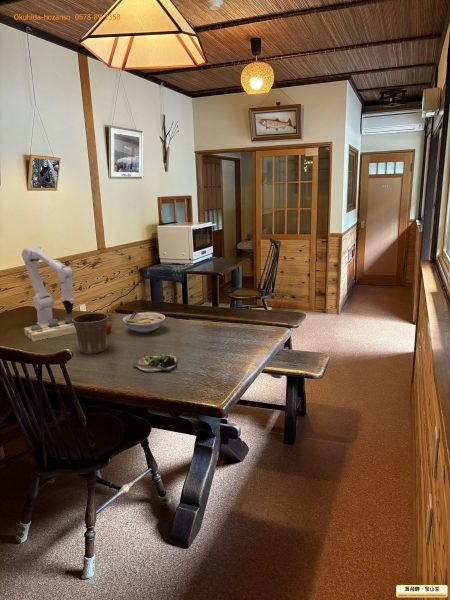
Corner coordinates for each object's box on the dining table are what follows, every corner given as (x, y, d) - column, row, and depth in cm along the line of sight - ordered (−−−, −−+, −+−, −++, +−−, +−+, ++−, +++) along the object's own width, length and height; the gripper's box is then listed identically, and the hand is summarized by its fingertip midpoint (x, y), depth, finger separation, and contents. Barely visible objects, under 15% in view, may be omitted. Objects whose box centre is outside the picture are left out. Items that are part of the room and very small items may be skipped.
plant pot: (73, 357, 198) (70, 323, 194) (75, 345, 213) (73, 314, 209) (110, 354, 202) (108, 320, 198) (110, 342, 217) (107, 311, 213)
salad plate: (129, 375, 179) (128, 365, 178) (134, 359, 196) (133, 350, 195) (176, 373, 180) (176, 363, 179) (177, 358, 198) (176, 348, 197)
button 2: (48, 327, 234) (47, 319, 233) (56, 326, 237) (55, 318, 236) (51, 329, 231) (50, 321, 230) (59, 328, 233) (58, 320, 232)
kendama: (87, 344, 219) (116, 331, 232) (83, 332, 218) (112, 319, 231) (79, 343, 224) (107, 330, 237) (75, 332, 223) (104, 319, 236)
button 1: (31, 334, 229) (30, 325, 228) (39, 332, 232) (38, 324, 230) (33, 336, 226) (32, 327, 224) (42, 334, 228) (41, 326, 227)
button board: (24, 334, 230) (23, 327, 229) (74, 324, 247) (73, 318, 246) (33, 341, 219) (32, 334, 218) (85, 330, 236) (84, 323, 235)
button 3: (64, 324, 240) (64, 316, 239) (72, 323, 242) (72, 315, 241) (67, 326, 236) (67, 318, 235) (75, 324, 239) (75, 317, 238)
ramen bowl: (162, 338, 224) (161, 323, 222) (118, 338, 224) (117, 323, 222) (169, 324, 248) (168, 310, 246) (129, 324, 248) (128, 310, 246)
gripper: (54, 288, 238) (57, 312, 241) (64, 292, 227) (66, 317, 230) (67, 286, 242) (69, 310, 245) (77, 290, 231) (79, 315, 234)
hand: (69, 313), depth 238 cm, fingers closed
